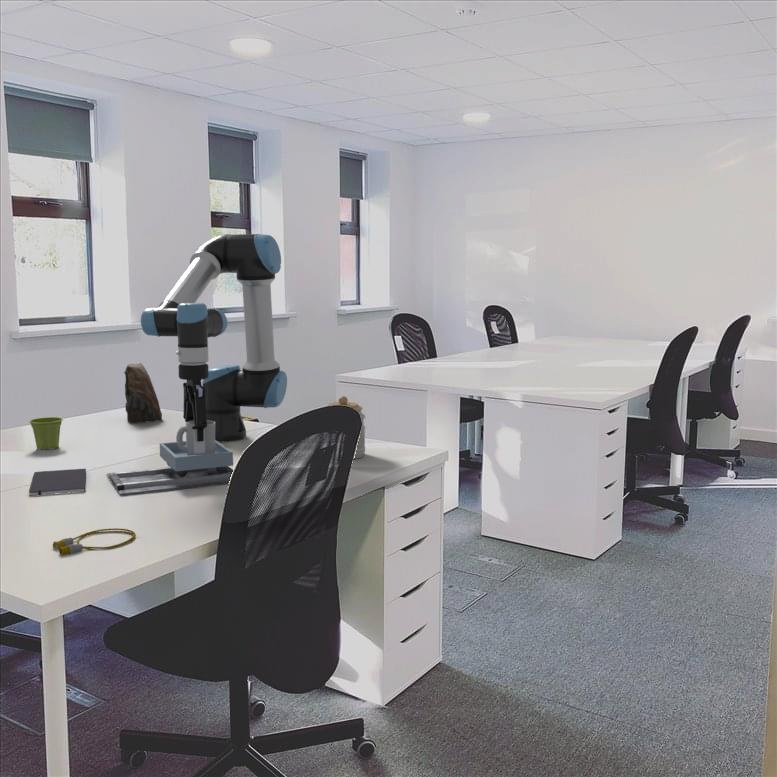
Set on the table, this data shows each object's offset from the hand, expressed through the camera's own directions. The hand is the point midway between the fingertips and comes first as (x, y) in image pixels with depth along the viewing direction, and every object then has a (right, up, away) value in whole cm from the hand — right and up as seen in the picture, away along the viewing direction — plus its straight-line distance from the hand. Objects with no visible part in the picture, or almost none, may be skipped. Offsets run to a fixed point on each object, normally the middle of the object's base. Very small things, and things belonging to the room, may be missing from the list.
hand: (195, 449), depth 218 cm
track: (-5, -7, -2) cm, 9 cm away
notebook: (-33, -9, -7) cm, 35 cm away
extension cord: (-8, -15, -51) cm, 54 cm away
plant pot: (-53, -2, +35) cm, 63 cm away
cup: (0, -2, +1) cm, 2 cm away
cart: (0, -5, +1) cm, 5 cm away
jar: (+37, -4, +27) cm, 46 cm away
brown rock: (-38, +5, +82) cm, 90 cm away
